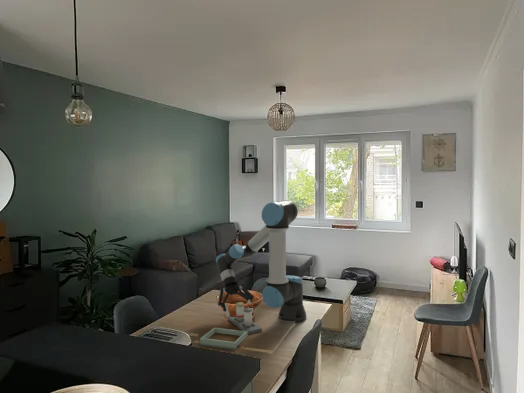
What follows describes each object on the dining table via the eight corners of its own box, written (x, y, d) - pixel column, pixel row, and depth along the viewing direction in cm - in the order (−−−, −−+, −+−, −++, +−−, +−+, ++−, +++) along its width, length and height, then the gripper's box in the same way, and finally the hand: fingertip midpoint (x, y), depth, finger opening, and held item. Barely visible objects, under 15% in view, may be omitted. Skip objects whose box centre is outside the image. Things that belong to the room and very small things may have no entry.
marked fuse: (245, 321, 207) (245, 302, 206) (242, 324, 203) (241, 305, 202) (238, 320, 208) (237, 301, 208) (234, 323, 204) (234, 304, 204)
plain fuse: (253, 327, 198) (252, 307, 197) (250, 330, 194) (249, 310, 193) (246, 326, 199) (245, 307, 199) (242, 329, 195) (242, 309, 195)
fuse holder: (228, 321, 210) (228, 316, 210) (241, 318, 214) (241, 314, 214) (247, 336, 189) (246, 331, 189) (261, 333, 192) (261, 328, 192)
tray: (247, 337, 187) (247, 331, 187) (235, 349, 174) (235, 343, 174) (214, 333, 194) (214, 327, 194) (200, 344, 181) (200, 338, 181)
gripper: (247, 280, 225) (259, 313, 212) (206, 286, 214) (216, 321, 201) (251, 272, 220) (264, 306, 207) (209, 278, 209) (219, 314, 196)
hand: (240, 314), depth 204 cm, fingers open, 13 cm apart
